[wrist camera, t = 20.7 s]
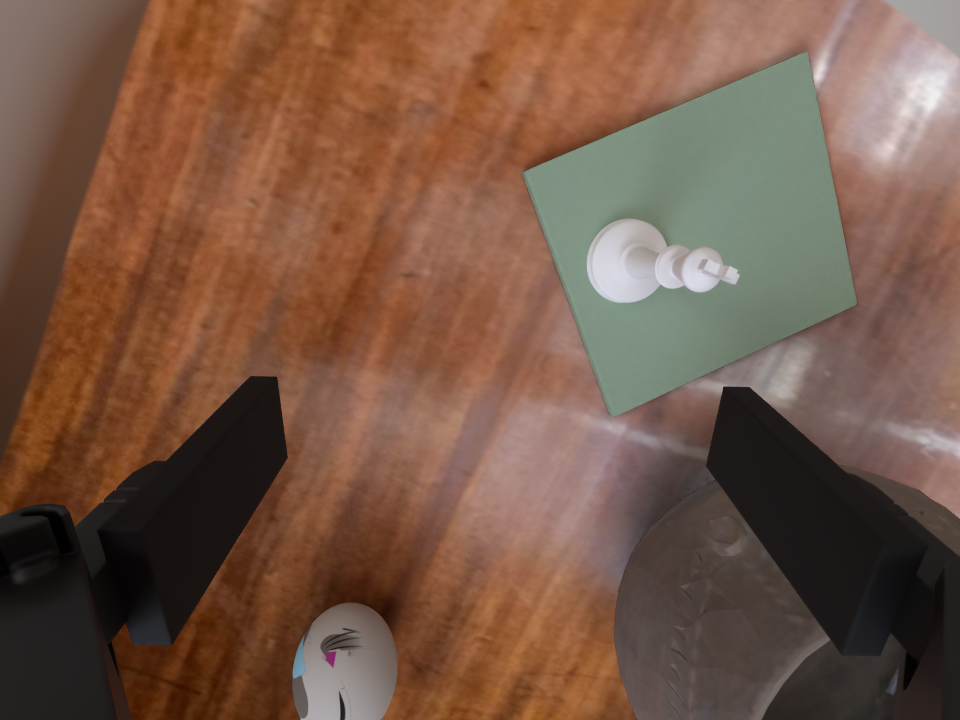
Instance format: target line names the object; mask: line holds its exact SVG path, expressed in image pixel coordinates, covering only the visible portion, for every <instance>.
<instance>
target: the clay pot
mask: <svg viewBox="0 0 960 720" xmlns="http://www.w3.org/2000/svg"><path fill="white" fill-rule="evenodd" d="M838 466H839V467H840V468H842V469H843V470H844V471H845V472H846V473H853V474H855V475H857V476H859V477H861V478H862V479H864V480H866V481H868V482H870V483H871V484H873V485H875V486H877V487H878V488H879V489H880V490H882V491H883V492H884V493H885V494H886V495H887V496H889V497H890V498H891V499H892V500H893V501H894V504H898V505H899V506H900V507H902V508H903V509H904V510H905V511H906V512H907V513H909V514H908V515H909V517H913V518H914V519H916V520H917V521H918V522H919V523H920V524H922V525H923V526H924V527H925V528H926V529H927V530H929V531H930V532H931V533H932V534H933V535H934V536H936V537H937V538H938V539H939V540H940V541H942V542H943V543H944V544H945V545H946V546H947V547H949V548H950V549H951V550H952V551H953V552H954V553H956V554H957V555H958V556H960V519H959V518H958V517H957V516H956V515H954V514H953V513H952V512H951V511H950V510H948V509H947V508H946V507H944V506H942V505H941V504H939V503H937V502H935V501H934V500H932V499H930V498H929V497H928V496H926V495H925V494H924V493H923V492H921V491H920V490H917V489H915V488H912V487H909V486H906V485H904V484H901V483H898V482H895V481H893V480H890V479H887V478H884V477H882V476H879V475H876V474H873V473H869V472H866V471H862V470H858V469H855V468H851V467H847V466H842V465H838ZM614 641H615V647H616V653H617V659H618V665H619V671H620V676H621V679H622V682H623V684H624V687H625V690H626V692H627V695H628V698H629V700H630V703H631V706H632V708H633V711H634V714H635V716H636V717H637V719H638V720H893V716H894V706H895V697H896V692H895V693H894V695H892V694H890V693H888V692H886V691H887V689H888V687H889V684H890V682H891V680H892V678H893V676H894V674H895V671H896V669H897V667H898V665H899V663H900V661H901V658H902V656H903V654H904V652H905V649H904V648H903V647H902V645H901V644H900V643H899V642H898V641H897V640H896V638H895V637H894V636H893V635H892V634H891V633H890V635H889V637H888V639H887V642H886V644H885V646H884V649H883V651H882V653H881V655H880V656H842V655H841V654H840V652H839V651H838V650H837V648H836V647H835V645H834V644H833V643H832V641H831V640H830V638H829V637H828V636H827V634H826V633H825V631H824V630H823V629H822V627H821V626H820V624H819V623H818V622H817V620H816V619H815V618H814V616H813V615H812V613H811V612H810V611H809V609H808V608H807V606H806V605H805V604H804V602H803V601H802V599H801V598H800V597H799V595H798V594H797V592H796V591H795V590H794V588H793V587H792V585H791V584H790V583H789V581H788V580H787V578H786V577H785V576H784V574H783V573H782V571H781V570H780V569H779V567H778V566H777V564H776V563H775V562H774V560H773V559H772V557H771V556H770V555H769V553H768V552H767V550H766V549H765V548H764V546H763V545H762V543H761V542H760V541H759V539H758V538H757V536H756V535H755V534H754V532H753V531H752V529H751V528H750V527H749V525H748V524H747V522H746V521H745V520H744V518H743V517H742V516H741V514H740V513H739V511H738V510H737V509H736V507H735V506H734V504H733V503H732V502H731V500H730V499H729V497H728V496H727V495H726V493H725V492H724V490H723V489H722V488H721V486H720V485H719V483H718V482H717V481H716V480H714V481H712V482H710V483H708V484H706V485H705V486H703V487H701V488H699V489H698V490H696V491H694V492H693V493H691V494H689V495H688V496H686V497H685V498H684V499H682V500H681V501H680V502H679V503H677V504H676V505H675V506H673V507H672V508H671V509H669V510H668V511H667V512H666V513H665V514H664V515H663V516H662V517H661V518H660V519H659V520H658V521H657V522H656V523H654V524H653V525H652V526H651V527H650V528H649V529H648V531H647V532H646V533H645V535H644V536H643V537H642V539H641V540H640V541H639V543H638V544H637V545H636V547H635V549H634V551H633V553H632V555H631V557H630V559H629V561H628V563H627V566H626V568H625V571H624V574H623V577H622V581H621V584H620V587H619V591H618V597H617V603H616V610H615V624H614Z"/></svg>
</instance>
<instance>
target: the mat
mask: <svg viewBox="0 0 960 720" xmlns="http://www.w3.org/2000/svg"><path fill="white" fill-rule="evenodd" d="M522 174H523V177H524V180H525V183H526V185H527V188H528V191H529V194H530V196H531V199H532V202H533V205H534V207H535V210H536V213H537V216H538V218H539V221H540V224H541V227H542V230H543V232H544V235H545V238H546V241H547V243H548V246H549V249H550V252H551V254H552V257H553V260H554V263H555V265H556V268H557V271H558V274H559V277H560V279H561V282H562V285H563V288H564V290H565V293H566V296H567V299H568V301H569V304H570V307H571V310H572V312H573V315H574V318H575V321H576V324H577V326H578V329H579V332H580V335H581V337H582V340H583V343H584V346H585V348H586V351H587V354H588V357H589V359H590V362H591V365H592V368H593V371H594V373H595V376H596V379H597V382H598V384H599V387H600V390H601V393H602V395H603V398H604V401H605V404H606V406H607V409H608V412H609V415H611V416H612V417H616V416H618V415H620V414H622V413H624V412H626V411H629V410H631V409H633V408H635V407H637V406H639V405H642V404H644V403H646V402H648V401H650V400H652V399H654V398H657V397H659V396H661V395H663V394H665V393H667V392H670V391H672V390H674V389H676V388H678V387H680V386H683V385H685V384H687V383H689V382H691V381H693V380H696V379H698V378H700V377H702V376H704V375H706V374H708V373H711V372H713V371H715V370H717V369H719V368H721V367H724V366H726V365H728V364H730V363H732V362H734V361H737V360H739V359H741V358H743V357H745V356H747V355H750V354H752V353H754V352H756V351H758V350H760V349H762V348H765V347H767V346H769V345H771V344H773V343H775V342H778V341H780V340H782V339H784V338H786V337H788V336H791V335H793V334H795V333H797V332H799V331H801V330H804V329H806V328H808V327H810V326H812V325H814V324H816V323H819V322H821V321H823V320H825V319H827V318H829V317H832V316H834V315H836V314H838V313H840V312H842V311H845V310H847V309H849V308H851V307H853V306H855V305H857V300H856V295H855V290H854V285H853V280H852V275H851V270H850V264H849V259H848V254H847V249H846V244H845V239H844V234H843V229H842V224H841V219H840V214H839V208H838V203H837V198H836V193H835V188H834V183H833V178H832V173H831V168H830V163H829V158H828V152H827V147H826V142H825V137H824V132H823V127H822V122H821V117H820V112H819V107H818V102H817V96H816V91H815V86H814V81H813V76H812V71H811V66H810V61H809V56H808V51H805V52H803V53H801V54H798V55H796V56H794V57H791V58H789V59H787V60H784V61H782V62H780V63H777V64H775V65H773V66H770V67H768V68H765V69H763V70H761V71H758V72H756V73H754V74H751V75H749V76H747V77H744V78H742V79H740V80H737V81H735V82H733V83H730V84H728V85H726V86H723V87H721V88H719V89H716V90H714V91H711V92H709V93H707V94H704V95H702V96H700V97H697V98H695V99H693V100H690V101H688V102H686V103H683V104H681V105H679V106H676V107H674V108H672V109H669V110H667V111H664V112H662V113H660V114H657V115H655V116H653V117H650V118H648V119H646V120H643V121H641V122H639V123H636V124H634V125H632V126H629V127H627V128H625V129H622V130H620V131H618V132H615V133H613V134H610V135H608V136H606V137H603V138H601V139H599V140H596V141H594V142H592V143H589V144H587V145H585V146H582V147H580V148H578V149H575V150H573V151H571V152H568V153H566V154H564V155H561V156H559V157H556V158H554V159H552V160H549V161H547V162H545V163H542V164H540V165H538V166H535V167H533V168H531V169H528V170H526V171H524V172H522ZM621 219H637V220H641V221H644V222H647V223H649V224H651V225H652V226H654V227H655V228H656V229H657V230H658V231H659V232H660V233H661V235H662V236H663V238H664V240H665V242H666V244H667V247H669V246H671V245H682V246H684V247H686V248H688V249H689V250H690V251H692V250H694V249H697V248H700V247H708V248H712V249H714V250H715V251H717V252H718V253H719V255H720V256H721V258H722V261H723V265H725V266H731V267H733V268H735V269H737V270H738V271H737V274H739V275H740V276H739V278H738V280H737V282H736V284H729V283H727V282H725V281H723V280H721V279H720V281H719V282H718V284H717V285H716V286H715V287H713V288H712V289H711V290H709V291H706V292H694V291H692V290H690V289H688V288H687V287H686V286H685V285H684V286H682V287H679V288H675V289H670V288H666V287H664V286H662V285H661V284H660V286H659V287H658V288H657V289H656V290H655V291H654V292H653V293H652V294H651V295H649V296H648V297H646V298H645V299H642V300H640V301H637V302H632V303H617V302H613V301H610V300H608V299H606V298H604V297H602V296H601V295H600V294H599V293H598V292H597V291H596V290H595V289H594V287H593V286H592V284H591V282H590V279H589V277H588V273H587V255H588V251H589V248H590V246H591V243H592V241H593V240H594V238H595V237H596V235H597V234H598V233H599V232H600V231H601V230H602V229H603V228H604V227H605V226H607V225H608V224H610V223H612V222H614V221H617V220H621Z"/></svg>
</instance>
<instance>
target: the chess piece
mask: <svg viewBox="0 0 960 720" xmlns="http://www.w3.org/2000/svg"><path fill="white" fill-rule="evenodd" d="M737 271H738V270H737V269H735V268H733V267H731V266H725V265H723V261H722V258H721V256H720V255H719V253H718V252H717V251H715V250H714V249H712V248H708V247H700V248H697V249H694V250H692V251H690V250H689V249H688V248H686V247H684V246H682V245H671V246H669V247H667V244H666V242H665V240H664V238H663V236H662V235H661V233H660V232H659V231H658V230H657V229H656V228H655V227H654V226H652V225H651V224H649V223H647V222H644V221H641V220H637V219H621V220H617V221H614V222H612V223H610V224H608V225H607V226H605V227H604V228H603V229H602V230H601V231H600V232H599V233H598V234H597V235H596V237H595V238H594V240H593V241H592V243H591V246H590V248H589V251H588V255H587V273H588V277H589V279H590V282H591V284H592V286H593V287H594V289H595V290H596V291H597V292H598V293H599V294H600V295H601V296H602V297H604V298H606V299H608V300H610V301H613V302H617V303H632V302H637V301H640V300H642V299H645V298H646V297H648V296H649V295H651V294H652V293H653V292H654V291H655V290H656V289H657V288H658V287H659V286H660V284H661V285H662V286H664V287H666V288H670V289H675V288H679V287H682V286H684V285H685V286H686V287H687V288H688V289H690V290H692V291H694V292H706V291H709V290H711V289H712V288H713V287H715V286H716V285H717V284H718V282H719V281H720V279H721V280H723V281H725V282H727V283H729V284H736V282H737V280H738V278H739V276H740V275H739V274H737Z"/></svg>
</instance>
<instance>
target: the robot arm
mask: <svg viewBox="0 0 960 720" xmlns="http://www.w3.org/2000/svg"><path fill="white" fill-rule="evenodd" d="M287 458H288V456H287V448H286V441H285V433H284V426H283V418H282V411H281V403H280V395H279V388H278V380H277V377H265V376H250V377H249V378H248V379H247V380H246V381H245V382H244V383H243V384H242V385H241V386H240V387H239V388H238V389H237V390H236V391H235V392H234V393H233V394H232V395H231V396H230V397H229V398H228V399H227V400H226V401H225V402H224V403H223V404H222V405H221V406H220V407H219V408H218V409H217V410H216V411H215V412H214V413H213V414H212V415H211V416H210V417H209V418H208V419H207V420H206V421H205V422H204V423H203V424H202V425H201V426H200V427H199V428H198V429H197V430H196V431H195V432H194V433H193V434H192V435H191V436H190V437H189V438H188V440H187V441H186V442H185V443H184V444H183V445H182V446H181V447H180V448H179V449H178V450H177V451H176V452H175V453H174V454H173V455H172V456H171V457H170V458H169V459H168V460H167V461H153V462H151V463H150V464H148V465H146V466H144V467H142V468H141V469H139V470H137V471H135V472H133V473H132V474H131V475H130V476H129V477H128V478H126V479H125V480H124V481H123V482H122V483H121V484H120V485H119V486H118V487H117V490H116V491H113V492H112V493H110V494H109V495H108V496H107V497H106V498H105V499H104V502H103V503H100V504H99V505H98V506H97V507H96V508H95V509H93V510H92V511H91V512H90V513H89V514H88V515H87V516H86V517H85V518H84V519H83V520H82V521H81V522H80V523H79V524H77V525H76V526H75V527H74V524H73V521H72V518H71V515H70V512H69V511H68V510H67V509H66V507H65V506H61V505H57V504H38V505H34V506H30V507H25V508H21V509H18V510H15V511H13V512H10V513H8V514H5V515H2V516H0V720H131V716H130V712H129V707H128V703H127V699H126V694H125V690H124V686H123V681H122V677H121V673H120V669H119V664H118V660H117V656H116V652H115V649H114V646H113V643H112V640H113V638H114V637H115V636H116V634H117V633H118V632H119V630H120V629H121V628H122V626H123V625H124V624H125V622H126V625H127V628H128V632H129V635H130V638H131V641H132V644H141V645H172V644H173V643H174V641H175V640H176V638H177V636H178V635H179V633H180V631H181V630H182V628H183V627H184V625H185V623H186V622H187V620H188V619H189V617H190V615H191V614H192V612H193V610H194V609H195V607H196V606H197V604H198V602H199V601H200V599H201V597H202V596H203V594H204V593H205V591H206V589H207V588H208V586H209V584H210V583H211V581H212V580H213V578H214V576H215V575H216V573H217V571H218V570H219V568H220V567H221V565H222V563H223V562H224V560H225V558H226V557H227V555H228V554H229V552H230V550H231V549H232V547H233V545H234V544H235V542H236V541H237V539H238V537H239V536H240V534H241V533H242V531H243V529H244V528H245V526H246V524H247V523H248V521H249V520H250V518H251V516H252V515H253V513H254V511H255V510H256V508H257V507H258V505H259V503H260V502H261V500H262V498H263V497H264V495H265V494H266V492H267V490H268V489H269V487H270V485H271V484H272V482H273V481H274V479H275V477H276V476H277V474H278V472H279V471H280V469H281V468H282V466H283V464H284V463H285V461H286V460H287ZM706 467H707V468H708V469H709V471H710V472H711V474H712V475H713V476H714V478H715V479H716V481H717V482H718V483H719V485H720V486H721V488H722V489H723V490H724V492H725V493H726V495H727V496H728V497H729V499H730V500H731V502H732V503H733V504H734V506H735V507H736V509H737V510H738V511H739V513H740V514H741V516H742V517H743V518H744V520H745V521H746V522H747V524H748V525H749V527H750V528H751V529H752V531H753V532H754V534H755V535H756V536H757V538H758V539H759V541H760V542H761V543H762V545H763V546H764V548H765V549H766V550H767V552H768V553H769V555H770V556H771V557H772V559H773V560H774V562H775V563H776V564H777V566H778V567H779V569H780V570H781V571H782V573H783V574H784V576H785V577H786V578H787V580H788V581H789V583H790V584H791V585H792V587H793V588H794V590H795V591H796V592H797V594H798V595H799V597H800V598H801V599H802V601H803V602H804V604H805V605H806V606H807V608H808V609H809V611H810V612H811V613H812V615H813V616H814V618H815V619H816V620H817V622H818V623H819V624H820V626H821V627H822V629H823V630H824V631H825V633H826V634H827V636H828V637H829V638H830V640H831V641H832V643H833V644H834V645H835V647H836V648H837V650H838V651H839V652H840V654H841V655H842V656H880V655H881V653H882V651H883V649H884V646H885V644H886V642H887V639H888V637H889V635H890V633H891V634H892V635H893V636H894V637H895V638H896V640H897V641H898V642H899V643H900V644H901V645H902V647H903V648H904V649H905V652H904V654H903V656H902V658H901V661H900V663H899V665H898V667H897V669H896V671H895V674H894V676H893V678H892V680H891V682H890V684H889V687H888V689H887V691H886V692H888V693H890V694H892V695H894V693H895V692H896V697H895V706H894V716H893V720H960V556H958V555H957V554H956V553H954V552H953V551H952V550H951V549H950V548H949V547H947V546H946V545H945V544H944V543H943V542H942V541H940V540H939V539H938V538H937V537H936V536H934V535H933V534H932V533H931V532H930V531H929V530H927V529H926V528H925V527H924V526H923V525H922V524H920V523H919V522H918V521H917V520H916V519H914V518H913V517H909V515H908V514H909V513H907V512H906V511H905V510H904V509H903V508H902V507H900V506H899V505H898V504H894V501H893V500H892V499H891V498H890V497H889V496H887V495H886V494H885V493H884V492H883V491H882V490H880V489H879V488H878V487H877V486H875V485H873V484H871V483H870V482H868V481H866V480H864V479H862V478H861V477H859V476H857V475H855V474H853V473H846V472H845V471H844V470H843V469H842V468H840V467H839V466H838V465H837V464H836V463H835V462H834V461H832V460H831V459H830V458H829V457H828V456H827V455H826V454H825V453H823V452H822V451H821V450H820V449H819V448H818V447H817V446H815V445H814V444H813V443H812V442H811V441H810V440H809V439H808V438H806V437H805V436H804V435H803V434H802V433H801V432H800V431H798V430H797V429H796V428H795V427H794V426H793V425H792V424H791V423H789V422H788V421H787V420H786V419H785V418H784V417H783V416H782V415H780V414H779V413H778V412H777V411H776V410H775V409H774V408H772V407H771V406H770V405H769V404H768V403H767V402H766V401H765V400H763V399H762V398H761V397H760V396H759V395H758V394H757V393H755V392H754V391H753V390H752V389H751V388H750V387H723V391H722V396H721V401H720V405H719V410H718V414H717V419H716V423H715V428H714V432H713V437H712V441H711V446H710V450H709V455H708V459H707V464H706Z"/></svg>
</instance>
